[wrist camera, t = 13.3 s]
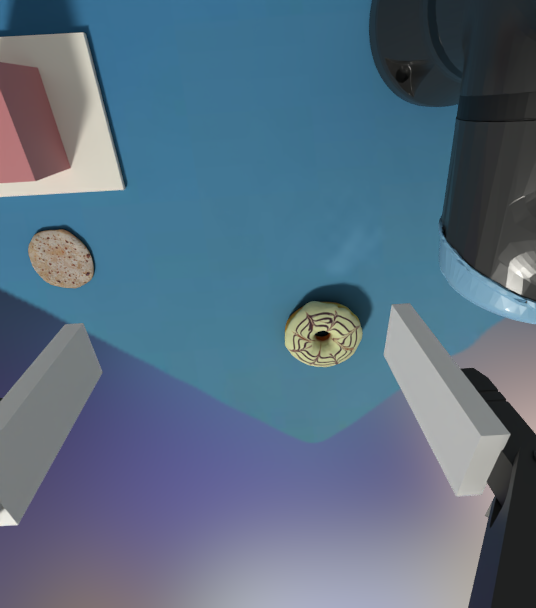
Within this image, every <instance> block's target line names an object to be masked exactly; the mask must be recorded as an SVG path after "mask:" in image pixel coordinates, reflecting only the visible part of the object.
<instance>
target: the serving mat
mask: <svg viewBox="0 0 536 608" xmlns="http://www.w3.org/2000/svg"><path fill="white" fill-rule="evenodd" d="M0 62H4V63H10V64H17V65H24V66H30V67H37V68H38V70H39V73H40V76H41V79H42V82H43V85H44V88H45V91H46V94H47V97H48V100H49V103H50V106H51V109H52V112H53V115H54V118H55V121H56V124H57V127H58V131H59V134H60V137H61V140H62V143H63V146H64V149H65V152H66V155H67V158H68V161H69V164H70V167H71V168H70V169H67V170H64V171H62V172H59V173H56V174H54V175H51V176H48V177H46V178H43V179H40V180H37V181H31V182H15V183H0V197H7V196H24V195H42V194H59V193H76V192H93V191H110V190H124V189H125V185H124V181H123V177H122V173H121V169H120V165H119V161H118V157H117V153H116V149H115V146H114V142H113V138H112V134H111V130H110V126H109V122H108V118H107V114H106V110H105V106H104V102H103V98H102V95H101V91H100V87H99V83H98V79H97V75H96V71H95V67H94V63H93V59H92V55H91V51H90V48H89V44H88V40H87V36H86V33H83V32H81V33H63V34H45V35H26V36H8V37H0Z"/></svg>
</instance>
